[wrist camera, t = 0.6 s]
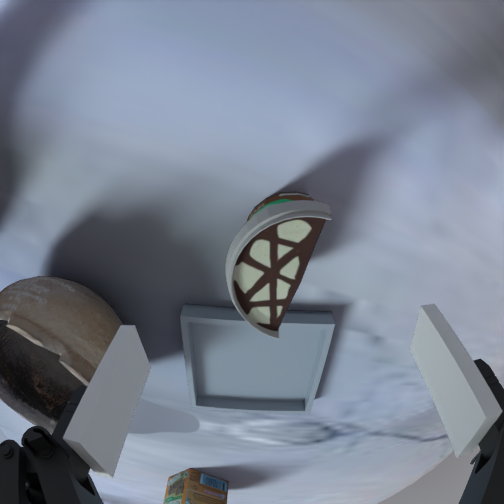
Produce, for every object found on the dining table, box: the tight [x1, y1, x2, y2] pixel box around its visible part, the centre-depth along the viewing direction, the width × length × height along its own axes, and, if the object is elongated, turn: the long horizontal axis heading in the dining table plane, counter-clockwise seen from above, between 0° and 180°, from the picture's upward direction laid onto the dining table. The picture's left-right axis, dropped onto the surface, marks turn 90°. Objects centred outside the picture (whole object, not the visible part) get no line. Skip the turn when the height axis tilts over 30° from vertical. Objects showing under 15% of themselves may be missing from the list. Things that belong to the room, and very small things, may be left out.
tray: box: [180, 304, 335, 414], centre depth 40 cm, size 18×18×2 cm
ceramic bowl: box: [0, 276, 123, 434], centre depth 32 cm, size 22×22×15 cm
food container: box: [225, 192, 332, 339], centre depth 28 cm, size 12×6×10 cm, turn 163°
